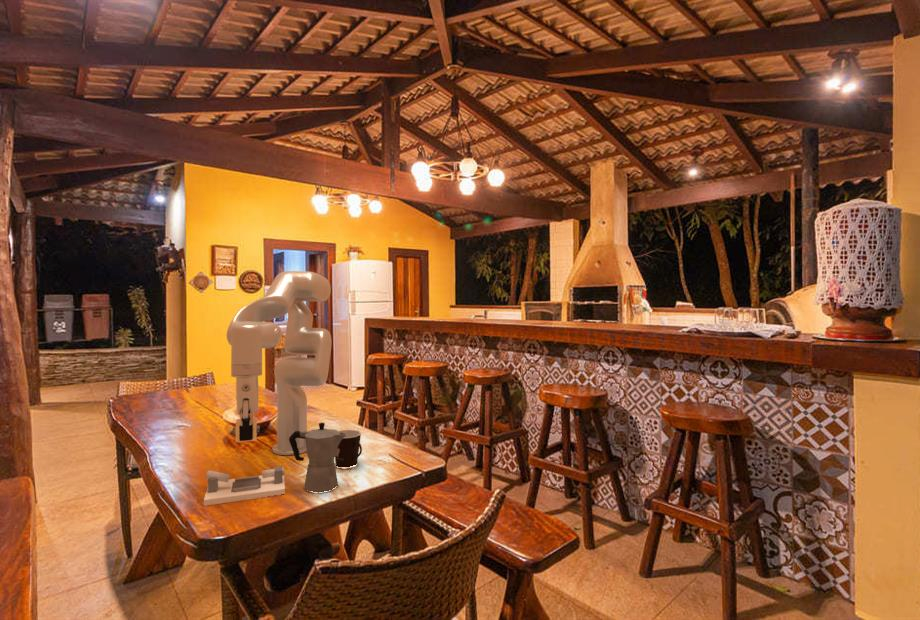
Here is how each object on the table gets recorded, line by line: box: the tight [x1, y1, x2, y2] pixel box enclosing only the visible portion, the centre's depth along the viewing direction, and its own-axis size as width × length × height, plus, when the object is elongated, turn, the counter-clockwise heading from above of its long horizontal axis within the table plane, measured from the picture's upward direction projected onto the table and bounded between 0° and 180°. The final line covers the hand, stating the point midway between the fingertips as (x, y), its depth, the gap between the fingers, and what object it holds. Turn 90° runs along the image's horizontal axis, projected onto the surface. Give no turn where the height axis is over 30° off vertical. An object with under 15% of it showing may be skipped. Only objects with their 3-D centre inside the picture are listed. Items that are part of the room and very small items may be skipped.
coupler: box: [232, 417, 261, 443], centre depth 124 cm, size 7×4×5 cm
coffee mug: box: [334, 429, 363, 467], centre depth 142 cm, size 12×9×10 cm
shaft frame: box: [203, 465, 286, 507], centre depth 124 cm, size 19×12×7 cm, turn 113°
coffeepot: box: [289, 422, 346, 492], centre depth 127 cm, size 15×9×18 cm, turn 93°
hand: (246, 436), depth 124 cm, fingers closed on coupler, 4 cm apart
